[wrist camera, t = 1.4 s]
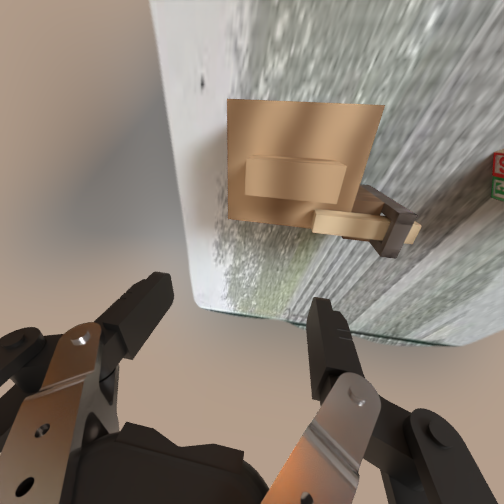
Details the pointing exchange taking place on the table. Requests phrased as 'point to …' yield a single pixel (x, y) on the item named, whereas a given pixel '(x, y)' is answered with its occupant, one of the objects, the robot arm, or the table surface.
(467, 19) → the table surface
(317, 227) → the light wooden plank
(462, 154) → the table surface
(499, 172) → the stack of blocks
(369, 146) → the lid
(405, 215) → the brown wooden box
